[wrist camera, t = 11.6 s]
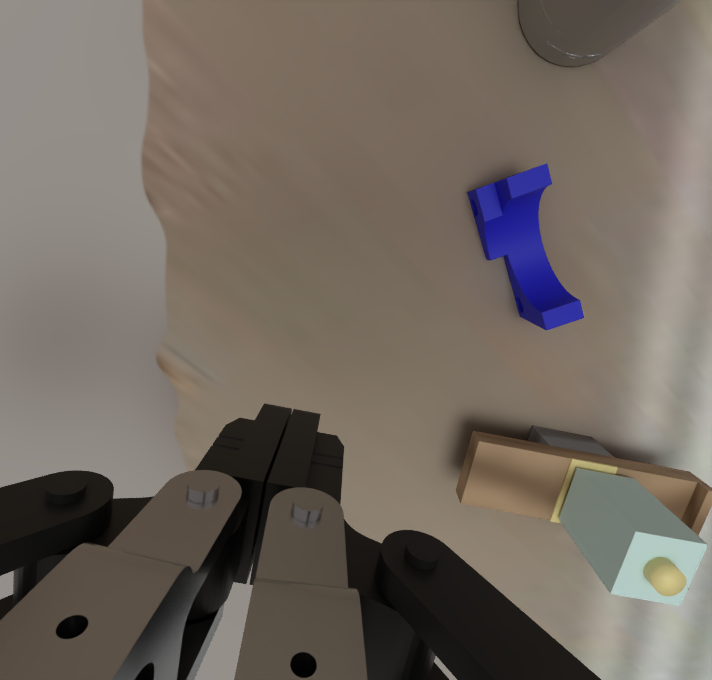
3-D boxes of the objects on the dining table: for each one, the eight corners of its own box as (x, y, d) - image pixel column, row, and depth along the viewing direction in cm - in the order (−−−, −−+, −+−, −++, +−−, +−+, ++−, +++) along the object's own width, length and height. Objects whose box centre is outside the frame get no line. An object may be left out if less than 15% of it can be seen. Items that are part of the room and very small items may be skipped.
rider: (577, 467, 37) (647, 544, 28) (634, 478, 37) (722, 557, 28) (558, 519, 38) (620, 608, 29) (614, 529, 38) (692, 620, 29)
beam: (462, 412, 42) (483, 447, 35) (659, 449, 43) (717, 491, 36) (447, 467, 44) (463, 512, 37) (638, 503, 45) (690, 553, 38)
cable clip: (466, 192, 38) (486, 185, 32) (517, 173, 37) (547, 163, 32) (503, 321, 41) (527, 336, 35) (551, 305, 40) (584, 317, 34)
